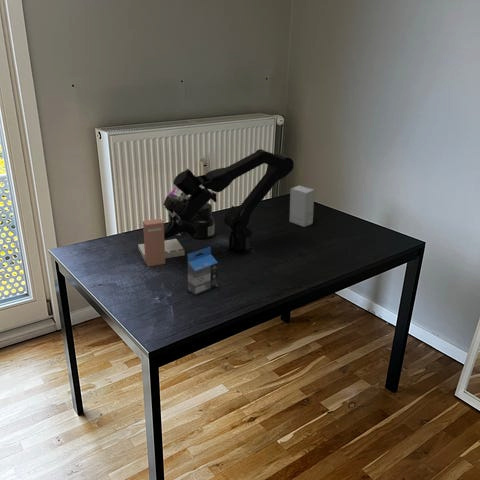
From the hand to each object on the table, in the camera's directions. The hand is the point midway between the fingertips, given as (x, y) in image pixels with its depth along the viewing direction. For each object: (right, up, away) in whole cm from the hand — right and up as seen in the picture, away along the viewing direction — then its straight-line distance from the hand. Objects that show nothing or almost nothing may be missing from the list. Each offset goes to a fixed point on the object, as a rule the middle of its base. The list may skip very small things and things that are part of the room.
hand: (163, 238), depth 159 cm
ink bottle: (+11, +1, +25) cm, 27 cm away
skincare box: (+50, +6, +38) cm, 63 cm away
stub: (-3, -9, +2) cm, 9 cm away
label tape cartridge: (+14, -16, -11) cm, 24 cm away
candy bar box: (+2, +3, +28) cm, 28 cm away
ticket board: (-2, -5, +10) cm, 11 cm away
